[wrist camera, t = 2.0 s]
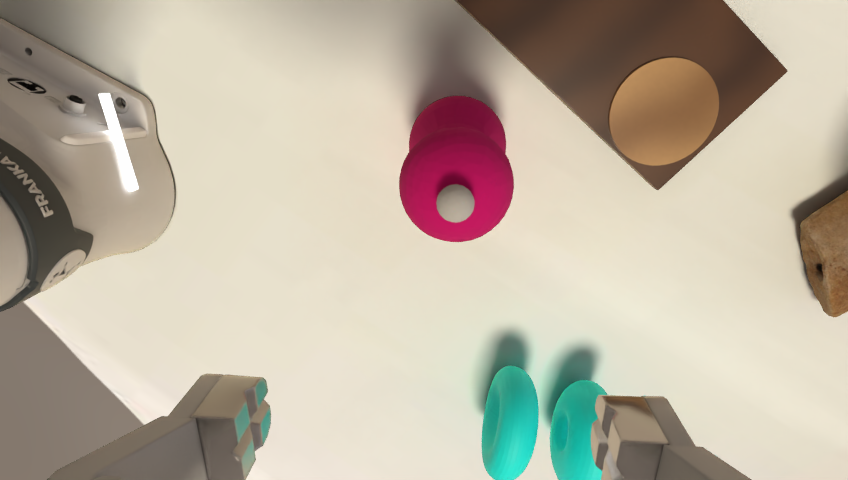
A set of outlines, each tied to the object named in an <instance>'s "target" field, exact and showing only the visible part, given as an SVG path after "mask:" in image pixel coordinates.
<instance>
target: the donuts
mask: <svg viewBox="0 0 848 480" xmlns="http://www.w3.org/2000/svg"><path fill="white" fill-rule="evenodd" d="M598 395H607V393H606V392H605V390H604V389H603V388H602V387H601V386H599V385H598V384H597V383H595V382H593V381H589V380H579V381H576V382H574V383H572V384H570V385H569V386H568V387H567V388H566V389H565V390H564V391H563V392H562V394H561V396H560V397H559V399H558V401H557V404H556V406H555V409H554V413H553V417H552V423H551V431H550V451H551V459H552V463H553V467H554V470H555V473H556V475H557V477H558V479H559V480H601V476H602V471H601V470H600V469H599V468H598V467H597V466H596V465H595V462H594V459H593V455H592V450H591V428H592V423H593V422H594V421H596V420H597V419H598V417H597V414H596V411H595V403H596V399H597V397H598ZM537 429H538V399H537V394H536V390H535V387H534V384H533V382H532V380H531V378H530V377H529V375H528V374H527V373H526V372H525V371H524V370H523V369H521V368H519V367H517V366H506V367H504V368H502V369H501V370H499V371H498V372H497V374H496V375H495V377H494V379H493V381H492V383H491V386H490V389H489V393H488V397H487V401H486V406H485V412H484V419H483V429H482V457H483V462H484V466H485V469H486V471H487V472H488V474H489V475H490V476H491V477H492V478H493V479H495V480H514V479H516V478H517V477H518V476H520V475H521V474H522V473H523V471H524V470H525V468H526V467H527V465H528V463H529V461H530V459H531V456H532V453H533V450H534V446H535V442H536V437H537Z"/></svg>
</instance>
